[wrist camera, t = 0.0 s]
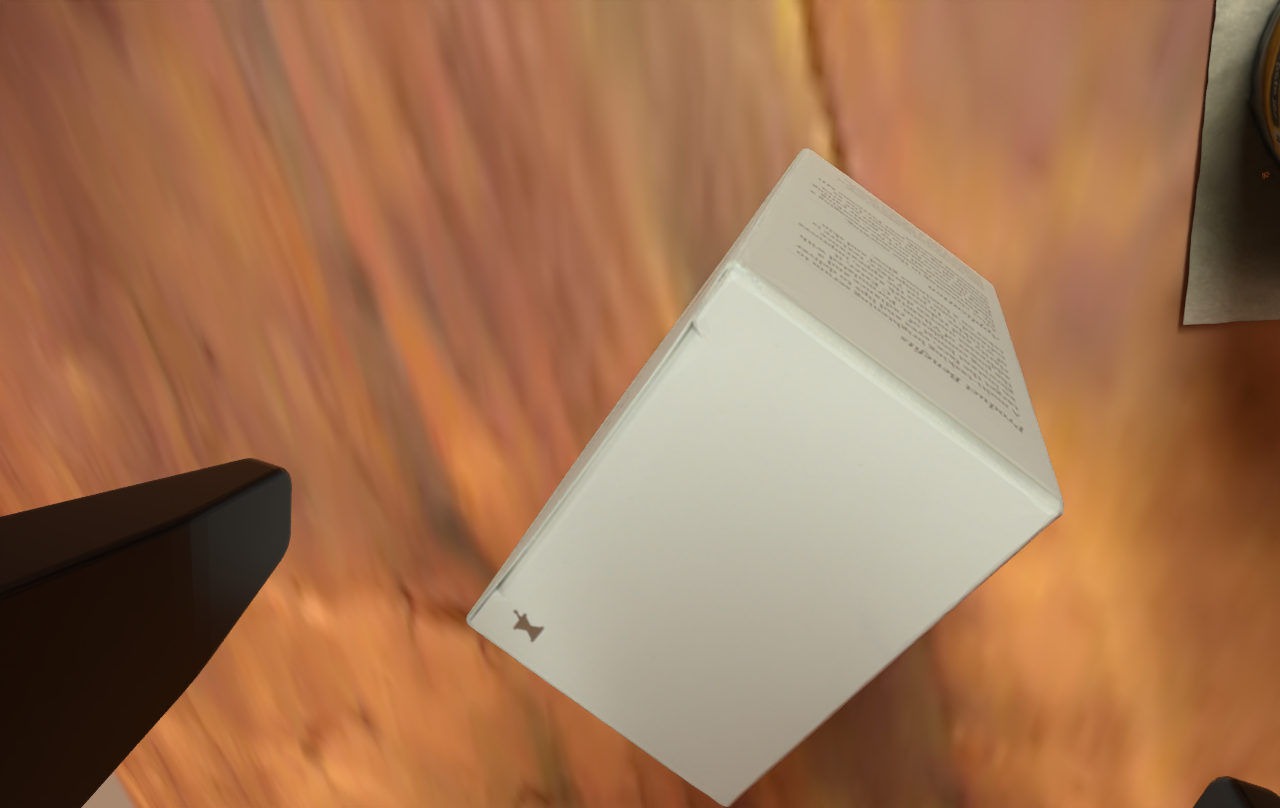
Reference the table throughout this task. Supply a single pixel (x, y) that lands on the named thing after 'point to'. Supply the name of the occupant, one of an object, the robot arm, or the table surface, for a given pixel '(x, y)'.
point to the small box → (782, 491)
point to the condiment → (1239, 172)
